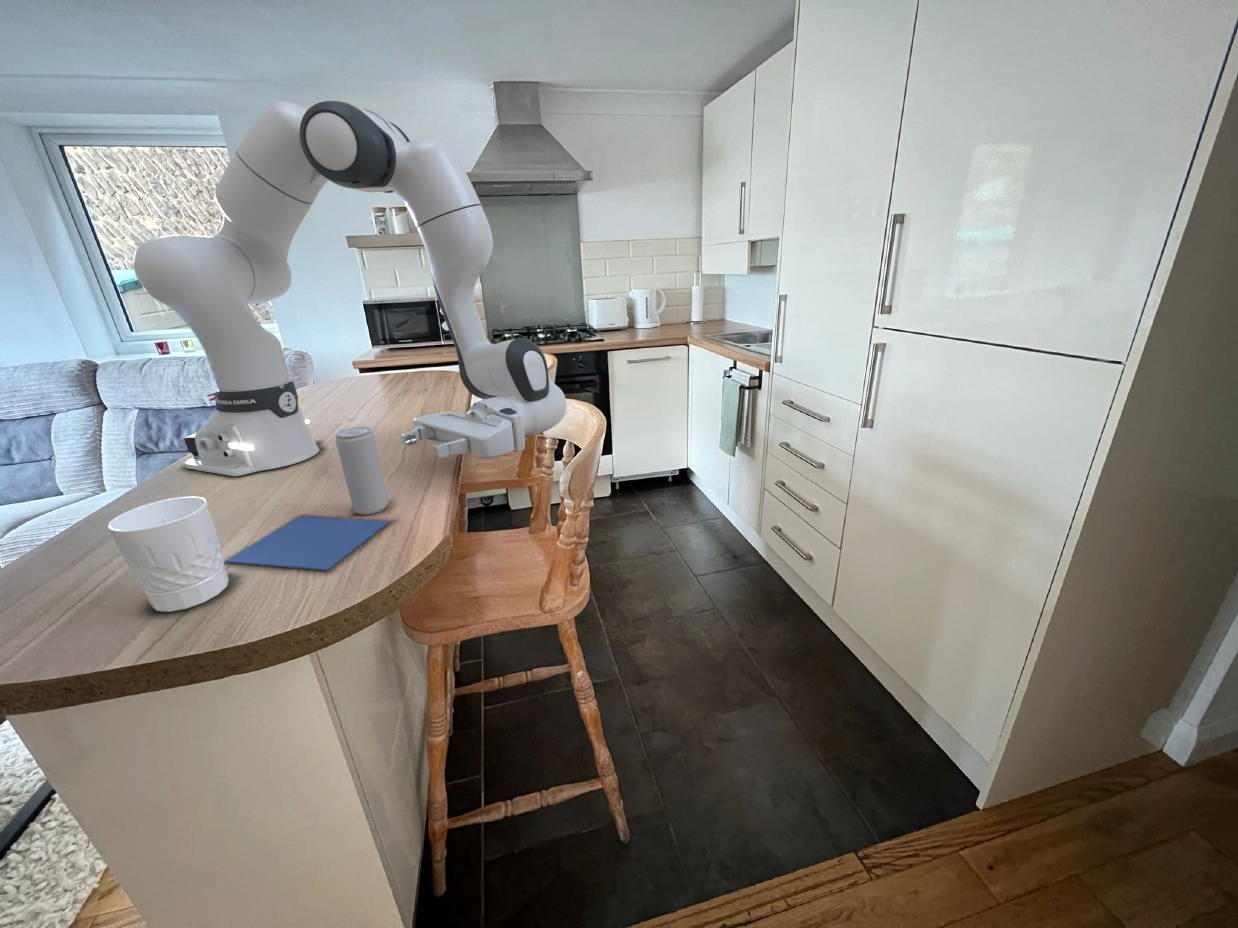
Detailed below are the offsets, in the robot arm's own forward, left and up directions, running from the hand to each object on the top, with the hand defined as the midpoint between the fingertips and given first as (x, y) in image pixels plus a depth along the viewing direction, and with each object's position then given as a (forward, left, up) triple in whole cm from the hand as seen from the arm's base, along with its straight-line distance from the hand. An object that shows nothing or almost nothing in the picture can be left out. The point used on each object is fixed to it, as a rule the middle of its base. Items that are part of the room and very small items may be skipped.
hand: (419, 446), depth 79 cm
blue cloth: (-6, -18, -7) cm, 20 cm away
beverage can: (-4, -8, -7) cm, 12 cm away
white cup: (-11, -30, -7) cm, 33 cm away
